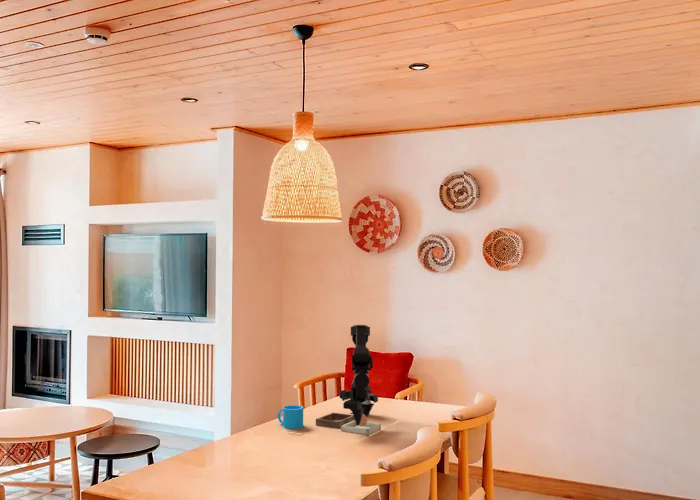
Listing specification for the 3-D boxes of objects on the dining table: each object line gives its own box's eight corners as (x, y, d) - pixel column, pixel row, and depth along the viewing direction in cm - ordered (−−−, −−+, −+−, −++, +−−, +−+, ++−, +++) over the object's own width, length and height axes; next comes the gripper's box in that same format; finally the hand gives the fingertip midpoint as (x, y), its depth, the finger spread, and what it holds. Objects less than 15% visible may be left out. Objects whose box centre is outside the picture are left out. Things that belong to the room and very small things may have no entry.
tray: (354, 426, 251) (354, 420, 251) (380, 430, 245) (380, 423, 245) (340, 432, 241) (340, 426, 241) (368, 436, 235) (368, 430, 235)
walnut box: (332, 419, 262) (332, 412, 262) (354, 422, 257) (354, 415, 257) (315, 426, 250) (315, 419, 250) (338, 429, 245) (338, 422, 245)
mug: (307, 427, 249) (307, 406, 249) (294, 431, 242) (294, 410, 242) (284, 423, 255) (284, 403, 256) (271, 427, 249) (271, 406, 249)
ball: (358, 424, 246) (358, 411, 247) (369, 425, 244) (369, 413, 244) (352, 426, 242) (352, 414, 242) (363, 428, 240) (363, 415, 240)
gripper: (354, 378, 256) (354, 416, 255) (331, 385, 239) (331, 426, 239) (378, 380, 250) (378, 419, 250) (356, 388, 234) (356, 429, 233)
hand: (360, 423), depth 243 cm, fingers closed on ball, 5 cm apart
